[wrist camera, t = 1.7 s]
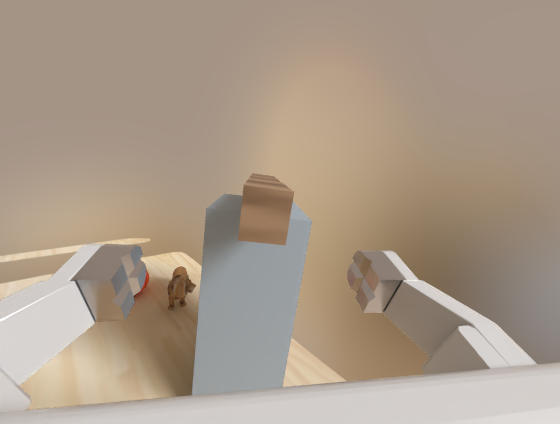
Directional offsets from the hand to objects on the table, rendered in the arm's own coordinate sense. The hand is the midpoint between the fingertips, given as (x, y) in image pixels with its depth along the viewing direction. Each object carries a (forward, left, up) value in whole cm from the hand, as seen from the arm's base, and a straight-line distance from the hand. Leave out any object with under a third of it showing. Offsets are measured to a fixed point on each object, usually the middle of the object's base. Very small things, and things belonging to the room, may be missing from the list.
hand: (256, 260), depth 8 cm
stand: (-11, +20, -31) cm, 38 cm away
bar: (-9, +16, -2) cm, 18 cm away
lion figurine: (-34, +28, -31) cm, 54 cm away
